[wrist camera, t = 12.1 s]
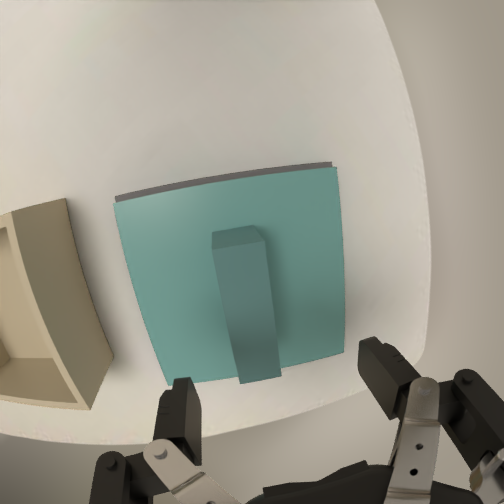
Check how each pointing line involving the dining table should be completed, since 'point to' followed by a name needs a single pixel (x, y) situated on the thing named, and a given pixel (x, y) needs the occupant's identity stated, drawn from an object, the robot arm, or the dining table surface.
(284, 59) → the dining table surface
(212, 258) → the lid
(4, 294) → the storage box
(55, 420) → the dining table surface
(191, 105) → the dining table surface
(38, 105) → the dining table surface
